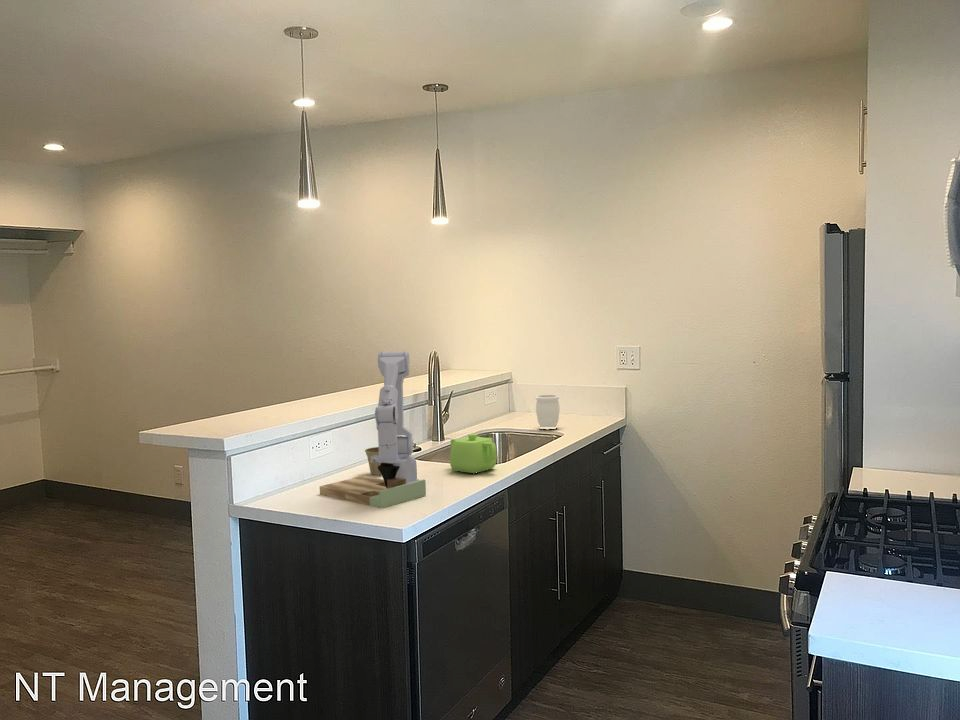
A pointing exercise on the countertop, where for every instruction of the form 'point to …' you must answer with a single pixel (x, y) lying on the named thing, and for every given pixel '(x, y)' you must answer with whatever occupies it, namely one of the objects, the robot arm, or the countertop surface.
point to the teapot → (472, 454)
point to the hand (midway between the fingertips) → (389, 487)
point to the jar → (547, 410)
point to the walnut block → (395, 482)
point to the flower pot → (372, 465)
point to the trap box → (374, 491)
